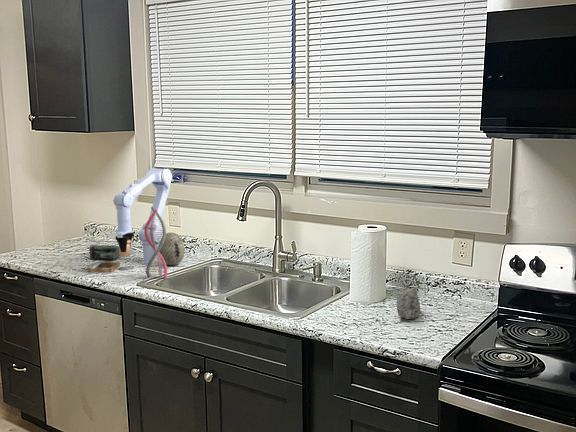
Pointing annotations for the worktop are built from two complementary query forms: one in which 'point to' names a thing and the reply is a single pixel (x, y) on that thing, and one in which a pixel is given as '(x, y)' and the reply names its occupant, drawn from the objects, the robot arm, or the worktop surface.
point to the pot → (127, 253)
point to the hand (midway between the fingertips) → (125, 250)
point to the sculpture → (104, 252)
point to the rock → (408, 304)
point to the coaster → (126, 268)
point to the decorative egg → (172, 249)
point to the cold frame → (103, 266)
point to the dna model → (150, 220)
